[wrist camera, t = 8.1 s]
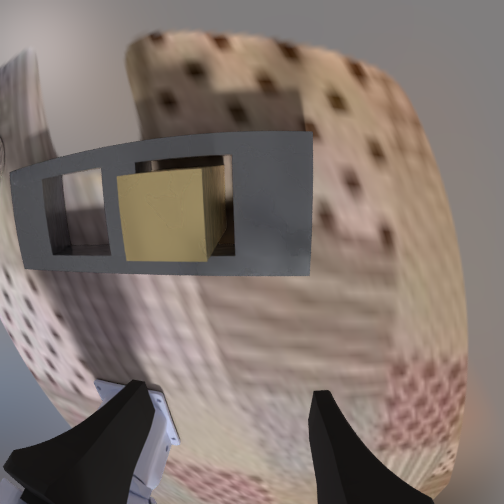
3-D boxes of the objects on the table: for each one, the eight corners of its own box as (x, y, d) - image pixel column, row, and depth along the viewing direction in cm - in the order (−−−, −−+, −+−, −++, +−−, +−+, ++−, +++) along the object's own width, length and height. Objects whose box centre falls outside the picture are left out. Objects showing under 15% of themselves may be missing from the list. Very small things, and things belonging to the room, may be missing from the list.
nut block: (226, 228, 18) (207, 261, 12) (167, 229, 18) (126, 261, 12) (224, 165, 17) (201, 168, 11) (162, 169, 17) (116, 176, 11)
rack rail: (304, 261, 18) (309, 275, 16) (41, 259, 20) (24, 268, 17) (306, 135, 16) (312, 131, 13) (28, 168, 17) (9, 172, 15)
